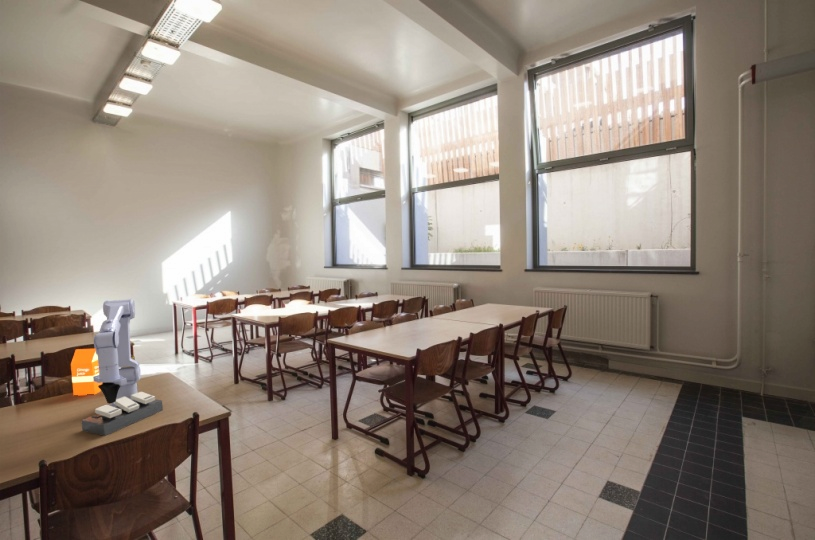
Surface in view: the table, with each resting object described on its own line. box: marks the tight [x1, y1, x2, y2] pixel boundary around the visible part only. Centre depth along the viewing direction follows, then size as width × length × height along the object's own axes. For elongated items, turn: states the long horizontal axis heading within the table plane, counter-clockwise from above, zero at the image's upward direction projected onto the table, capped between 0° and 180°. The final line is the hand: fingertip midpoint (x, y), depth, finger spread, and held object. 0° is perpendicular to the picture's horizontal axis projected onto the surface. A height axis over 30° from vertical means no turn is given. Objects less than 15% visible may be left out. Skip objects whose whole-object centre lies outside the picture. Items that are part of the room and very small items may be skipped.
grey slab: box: [80, 398, 164, 437], centre depth 154 cm, size 12×26×5 cm, turn 160°
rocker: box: [94, 404, 122, 418], centre depth 145 cm, size 8×4×2 cm, turn 70°
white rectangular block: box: [131, 391, 156, 404], centre depth 157 cm, size 8×4×2 cm, turn 70°
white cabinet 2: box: [114, 396, 139, 413], centre depth 151 cm, size 8×4×2 cm, turn 70°
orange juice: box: [70, 348, 102, 396], centre depth 182 cm, size 8×9×20 cm
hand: (111, 402), depth 144 cm, fingers closed
